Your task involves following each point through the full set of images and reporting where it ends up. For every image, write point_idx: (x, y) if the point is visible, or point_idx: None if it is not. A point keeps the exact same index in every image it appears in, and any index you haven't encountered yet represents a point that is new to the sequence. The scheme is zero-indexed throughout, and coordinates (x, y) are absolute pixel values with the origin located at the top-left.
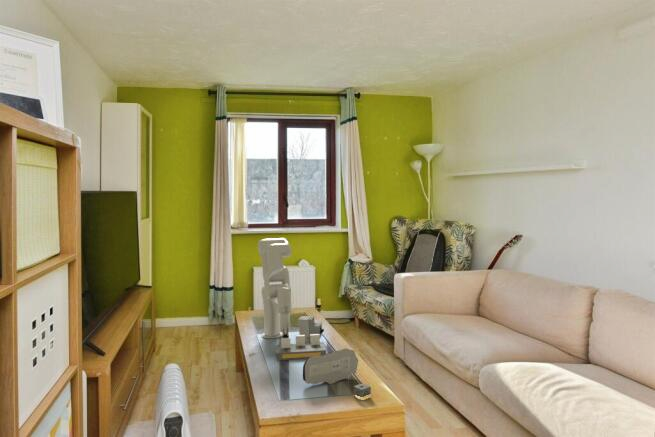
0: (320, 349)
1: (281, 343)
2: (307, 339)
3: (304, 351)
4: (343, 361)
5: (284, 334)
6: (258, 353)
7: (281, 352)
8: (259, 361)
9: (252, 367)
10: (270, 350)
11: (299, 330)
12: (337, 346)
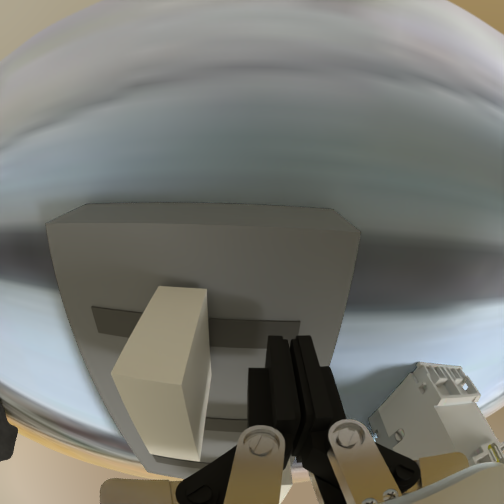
0: (155, 465)
1: (138, 328)
2: (394, 430)
3: (112, 417)
4: None
5: (196, 475)
6: (331, 30)
7: (59, 273)
8: (92, 56)
9: (13, 53)
10: (397, 151)
11: (451, 444)
12: (301, 473)
